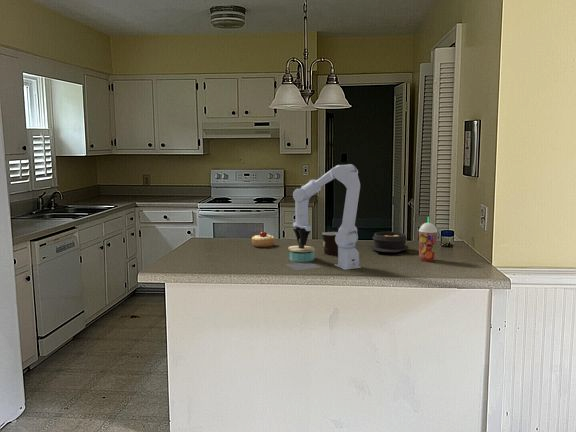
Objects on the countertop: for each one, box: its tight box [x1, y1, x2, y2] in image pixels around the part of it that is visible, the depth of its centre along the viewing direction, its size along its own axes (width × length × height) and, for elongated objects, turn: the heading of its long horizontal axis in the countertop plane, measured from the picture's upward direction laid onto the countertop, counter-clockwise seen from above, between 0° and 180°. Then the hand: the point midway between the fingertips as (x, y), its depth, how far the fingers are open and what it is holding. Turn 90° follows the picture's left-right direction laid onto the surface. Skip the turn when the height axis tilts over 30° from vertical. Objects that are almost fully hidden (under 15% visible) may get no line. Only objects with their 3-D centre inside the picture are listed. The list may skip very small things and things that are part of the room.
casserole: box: [370, 231, 410, 254], centre depth 271 cm, size 25×19×8 cm
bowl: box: [289, 250, 315, 263], centre depth 252 cm, size 11×11×4 cm
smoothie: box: [417, 216, 438, 263], centre depth 248 cm, size 8×8×20 cm
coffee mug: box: [321, 231, 338, 256], centre depth 265 cm, size 12×9×10 cm
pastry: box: [251, 228, 276, 248], centre depth 285 cm, size 12×12×9 cm
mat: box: [285, 261, 323, 271], centre depth 238 cm, size 12×12×1 cm
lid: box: [288, 238, 315, 252], centre depth 251 cm, size 12×12×5 cm
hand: (301, 244), depth 251 cm, fingers closed on lid, 2 cm apart
